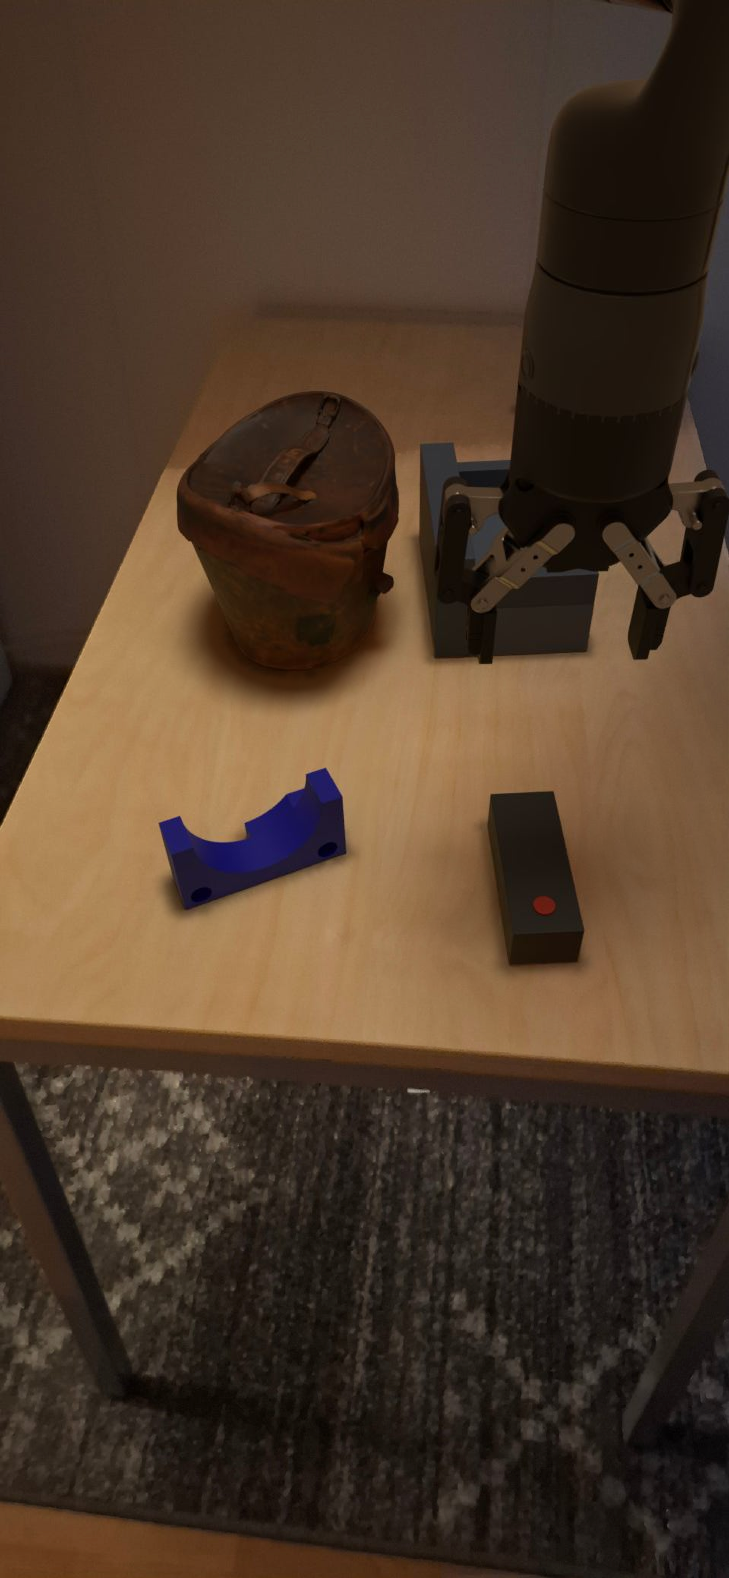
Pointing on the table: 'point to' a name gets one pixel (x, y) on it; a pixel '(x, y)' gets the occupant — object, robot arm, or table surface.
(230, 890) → the blue bracket
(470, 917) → the table surface
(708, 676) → the table surface
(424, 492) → the sofa
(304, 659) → the case
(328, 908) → the table surface
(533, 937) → the remote
